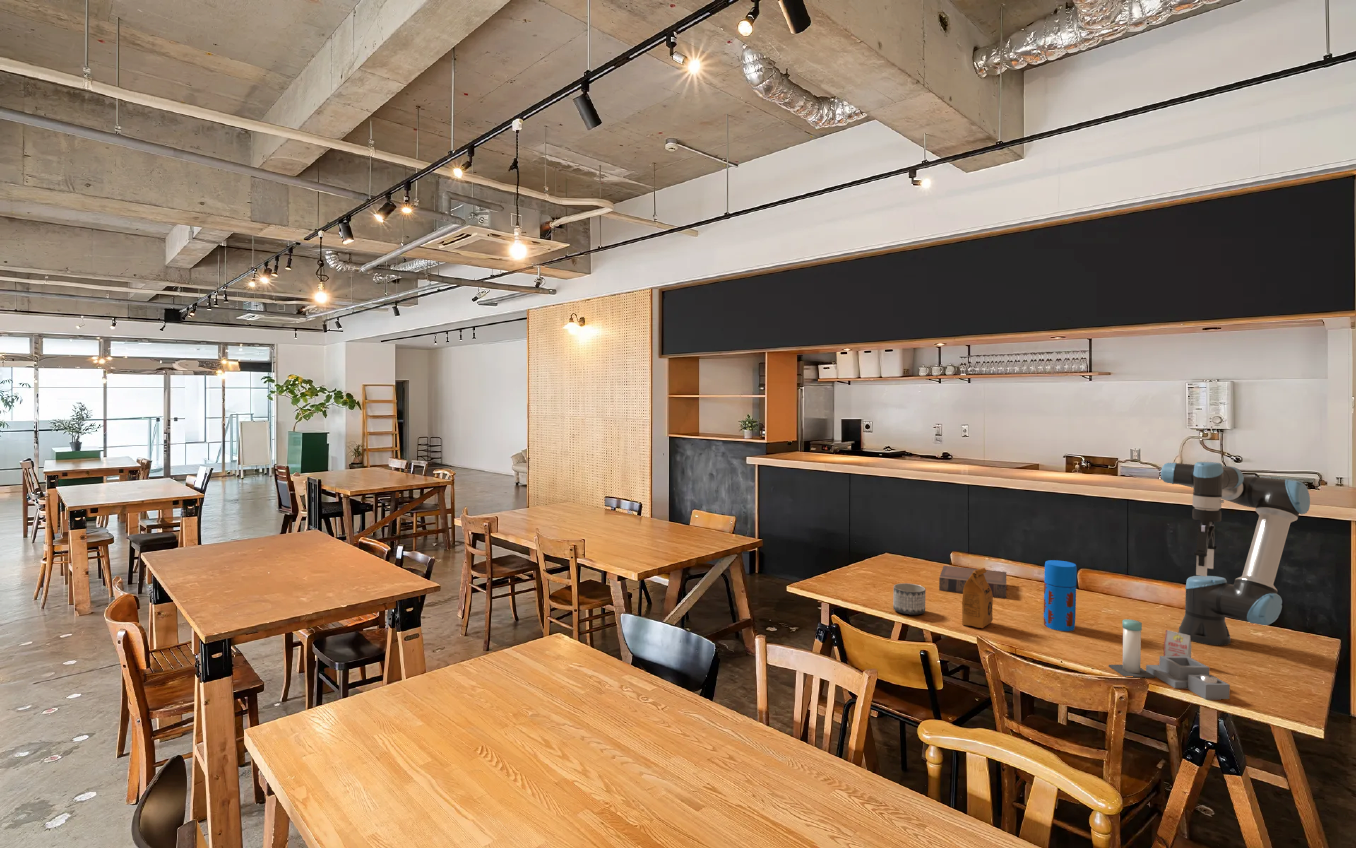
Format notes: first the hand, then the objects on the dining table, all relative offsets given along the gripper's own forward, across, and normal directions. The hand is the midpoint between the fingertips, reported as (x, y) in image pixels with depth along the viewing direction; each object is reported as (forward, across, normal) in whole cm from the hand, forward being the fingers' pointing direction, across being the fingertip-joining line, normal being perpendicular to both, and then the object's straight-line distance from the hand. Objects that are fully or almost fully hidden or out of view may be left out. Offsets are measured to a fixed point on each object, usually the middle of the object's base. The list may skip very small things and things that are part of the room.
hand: (1204, 571), depth 221 cm
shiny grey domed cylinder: (+31, -26, -5) cm, 41 cm away
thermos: (+32, +7, +45) cm, 56 cm away
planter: (+32, -18, +95) cm, 102 cm away
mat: (+32, -24, +15) cm, 42 cm away
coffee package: (+32, -13, +69) cm, 77 cm away
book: (+32, +37, +90) cm, 103 cm away
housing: (+32, -22, -1) cm, 39 cm away
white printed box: (+32, -2, +6) cm, 33 cm away
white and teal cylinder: (+31, -24, +15) cm, 42 cm away
